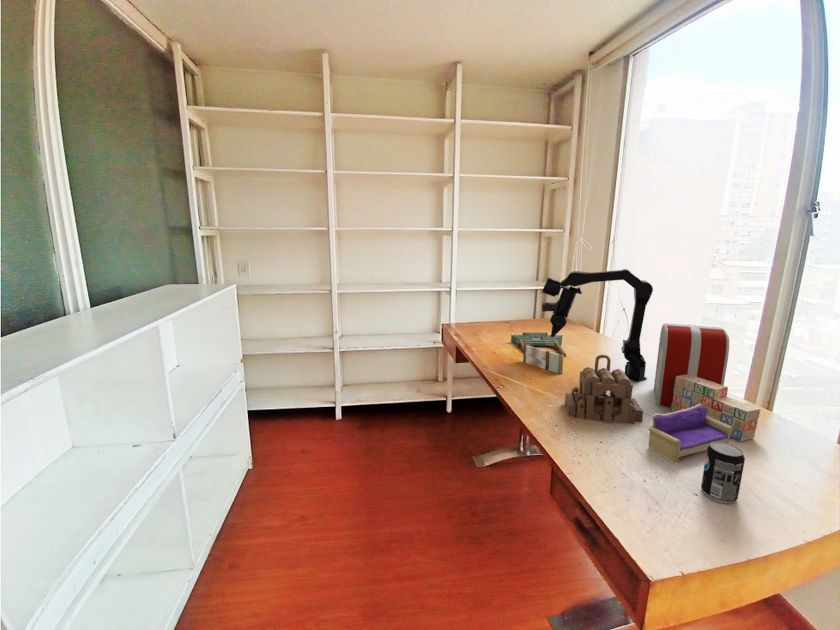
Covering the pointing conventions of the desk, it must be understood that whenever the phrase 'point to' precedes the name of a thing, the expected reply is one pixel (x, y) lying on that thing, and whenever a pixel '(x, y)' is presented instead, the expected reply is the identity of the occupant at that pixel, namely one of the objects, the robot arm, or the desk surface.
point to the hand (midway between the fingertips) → (552, 334)
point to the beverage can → (722, 472)
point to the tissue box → (689, 357)
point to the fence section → (536, 357)
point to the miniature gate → (538, 340)
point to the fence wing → (556, 363)
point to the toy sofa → (686, 432)
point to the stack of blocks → (716, 405)
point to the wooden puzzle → (604, 396)
